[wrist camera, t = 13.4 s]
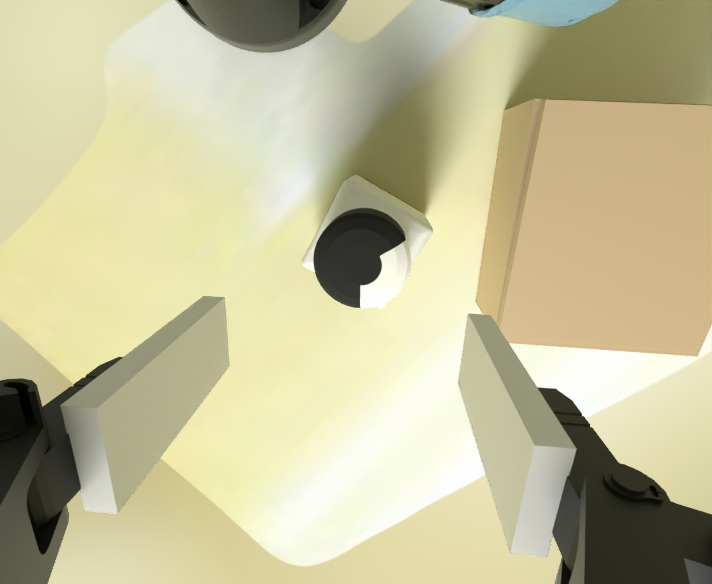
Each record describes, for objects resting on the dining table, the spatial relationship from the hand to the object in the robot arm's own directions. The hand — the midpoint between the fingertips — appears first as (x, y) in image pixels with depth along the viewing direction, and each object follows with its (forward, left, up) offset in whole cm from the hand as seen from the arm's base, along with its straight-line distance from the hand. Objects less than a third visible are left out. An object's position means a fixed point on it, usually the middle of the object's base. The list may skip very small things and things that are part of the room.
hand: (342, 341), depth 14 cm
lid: (-2, +17, -15) cm, 23 cm away
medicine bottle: (0, 0, -23) cm, 23 cm away
